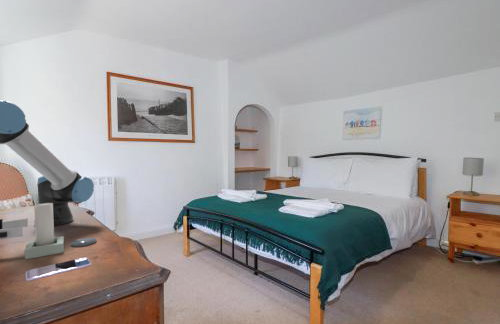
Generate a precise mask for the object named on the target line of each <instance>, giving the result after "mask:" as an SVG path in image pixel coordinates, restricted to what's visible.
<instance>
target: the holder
mask: <svg viewBox="0 0 500 324" xmlns="http://www.w3.org/2000/svg"><path fill="white" fill-rule="evenodd" d="M64 238H65V237H64V236H63V235H62V236H54V241H55V244H49V245H42V246H36V239H35V240H31V241H27V243H26V245H25V248H24V260H28V259H33V258H41V257H45V256H46V257H47V256H51V255H57V254H63V253H64V251H65V250H64V249H65V248H64V247H65V241H64Z"/></svg>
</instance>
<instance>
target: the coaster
mask: <svg viewBox="0 0 500 324" xmlns="http://www.w3.org/2000/svg"><path fill="white" fill-rule="evenodd" d="M95 243H97V238H96V237H83V238H78V239H75V240H73V241H71V242H70V246H71V247H73V248H79V247H87V246H91V245H93V244H95Z"/></svg>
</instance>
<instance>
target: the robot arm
mask: <svg viewBox="0 0 500 324" xmlns="http://www.w3.org/2000/svg"><path fill="white" fill-rule="evenodd" d="M29 127H30V125H29V124H28V122H27V119H26V114H25V113H24V110H22V108H20V107H19V106H18V105H16V104H15V103H13V102H11V101H8V100H1V99H0V145H6V146H7V147H9V148H10V149H11V150H12V151H13V152H14V153H16V155H18V156H19V157H20V158H22V160H24V161H25V162H27V163H28V164H29V165H30V166H31V167H32V168H33V169H35V170H36V171H37V173H39V174H40V175H42V176H40V177H38V178H37V184H36V186H37V200H38V201H37V202H38V203H37V204H43V203H53V219H54V226H61V225H64V224H68V223H71V222H73V221H74V216H73V213H72V211H71V208H70V207H69V203H76V204H78V203H85V202H87V201H88V200H90V198H91V197H92V196H93V194H94V190H95V189H94V187H95V186H94V185H95V184H94V181H93V180H92V179H91V178H90V177H87V176H81V175H80V174H79V173H78V171H77V170H76V169H69V168H68V167H67V166H66V165H65V164H64V163H63V162H62V161H61V160H60V159H59V158H57V157H56V156H55V154H53V153H52V152H51V151H50V150H49V148H47V147H46V146H45V145H44V144H43V143H42V142H40V141H39V139H38V138H37V137H36V136H34V134H32V132H30V131H29ZM34 223H35V220H34ZM27 227H29V221H28V218H18V219H12V220H3V218H0V240H4V239H12V238H14V239H15V238H21V237H23V228H27Z"/></svg>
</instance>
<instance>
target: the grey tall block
mask: <svg viewBox="0 0 500 324" xmlns="http://www.w3.org/2000/svg"><path fill="white" fill-rule="evenodd" d="M33 206H34V212H33V213H34V221H35V222H34V226H35V228H34V229H35V240H36V246H42V245H49V244H55V241H54V238H55V227H54V226H55V225H54V219H53V203H43V204H38V203H37V204H34V205H33Z"/></svg>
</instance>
